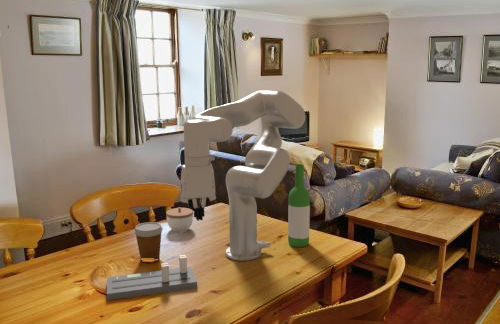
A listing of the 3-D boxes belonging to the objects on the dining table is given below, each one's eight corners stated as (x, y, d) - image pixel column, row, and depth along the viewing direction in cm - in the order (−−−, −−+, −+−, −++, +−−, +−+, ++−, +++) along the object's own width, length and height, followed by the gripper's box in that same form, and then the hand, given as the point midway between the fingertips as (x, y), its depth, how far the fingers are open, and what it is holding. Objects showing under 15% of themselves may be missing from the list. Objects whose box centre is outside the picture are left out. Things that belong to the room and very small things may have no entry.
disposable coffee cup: (157, 266, 157) (156, 232, 155) (131, 264, 159) (129, 230, 157) (168, 254, 166) (166, 222, 164) (142, 252, 168) (141, 220, 166)
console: (191, 272, 152) (191, 266, 152) (197, 287, 142) (197, 281, 142) (107, 283, 145) (107, 277, 145) (107, 300, 135) (106, 293, 135)
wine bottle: (288, 239, 180) (289, 162, 173) (309, 240, 178) (310, 163, 172) (287, 247, 172) (287, 167, 166) (308, 248, 171) (310, 167, 165)
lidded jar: (191, 234, 186) (191, 211, 184) (164, 234, 186) (163, 211, 184) (195, 225, 196) (194, 203, 194) (169, 225, 196) (168, 203, 194)
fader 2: (186, 269, 149) (185, 254, 148) (187, 272, 147) (186, 257, 146) (179, 270, 149) (179, 255, 147) (180, 273, 146) (180, 258, 145)
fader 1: (168, 278, 143) (167, 262, 142) (169, 281, 141) (168, 265, 140) (161, 278, 143) (161, 263, 142) (162, 282, 140) (161, 266, 139)
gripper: (219, 157, 147) (220, 213, 151) (170, 160, 143) (173, 217, 147) (224, 161, 140) (225, 220, 144) (173, 165, 136) (176, 225, 140)
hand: (199, 219), depth 146 cm, fingers closed
